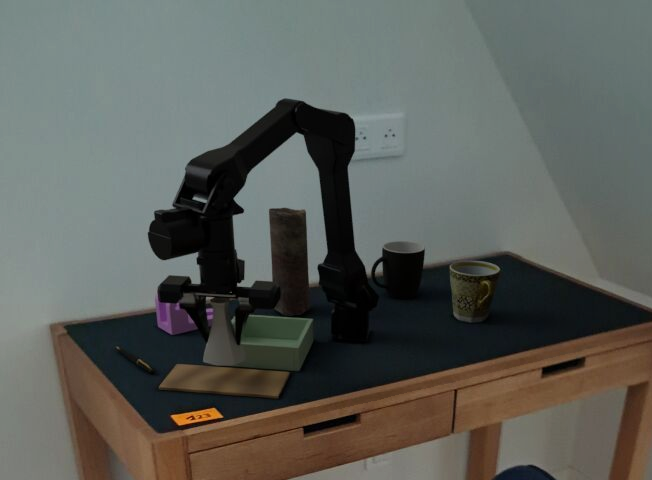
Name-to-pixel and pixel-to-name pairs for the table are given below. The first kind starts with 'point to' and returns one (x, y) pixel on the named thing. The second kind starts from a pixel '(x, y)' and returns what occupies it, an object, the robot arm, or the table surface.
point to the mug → (401, 268)
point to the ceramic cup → (473, 289)
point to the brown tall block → (290, 259)
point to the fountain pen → (136, 360)
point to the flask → (222, 337)
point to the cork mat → (225, 381)
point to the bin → (276, 342)
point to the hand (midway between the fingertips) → (223, 343)
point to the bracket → (176, 318)
